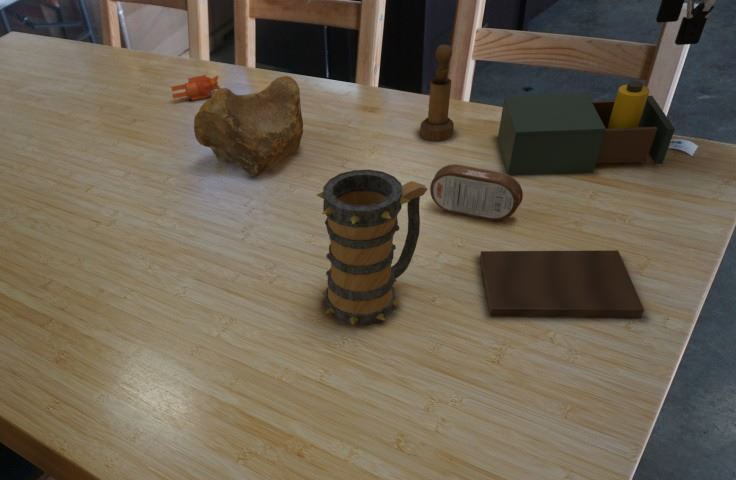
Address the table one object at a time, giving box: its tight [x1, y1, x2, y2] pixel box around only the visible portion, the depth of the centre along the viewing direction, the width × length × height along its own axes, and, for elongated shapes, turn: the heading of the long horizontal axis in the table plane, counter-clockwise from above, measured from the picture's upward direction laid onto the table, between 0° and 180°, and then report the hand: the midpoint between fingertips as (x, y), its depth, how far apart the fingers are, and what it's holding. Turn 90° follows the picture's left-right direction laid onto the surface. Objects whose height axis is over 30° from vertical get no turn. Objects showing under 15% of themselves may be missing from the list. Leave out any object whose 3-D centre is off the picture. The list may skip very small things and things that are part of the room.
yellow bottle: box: [607, 80, 650, 129], centre depth 120 cm, size 5×5×11 cm
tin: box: [429, 163, 524, 222], centre depth 114 cm, size 15×3×8 cm, turn 58°
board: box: [479, 249, 645, 319], centre depth 100 cm, size 20×14×2 cm
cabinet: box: [497, 92, 606, 176], centre depth 125 cm, size 15×15×9 cm
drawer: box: [591, 95, 676, 166], centre depth 123 cm, size 15×13×7 cm
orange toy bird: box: [170, 74, 221, 101], centre depth 166 cm, size 5×8×12 cm
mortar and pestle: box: [419, 43, 455, 142], centre depth 133 cm, size 7×6×18 cm
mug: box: [315, 169, 429, 326], centre depth 97 cm, size 13×17×20 cm
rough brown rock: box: [193, 75, 304, 177], centre depth 135 cm, size 23×17×15 cm
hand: (675, 32), depth 108 cm, fingers open, 9 cm apart
